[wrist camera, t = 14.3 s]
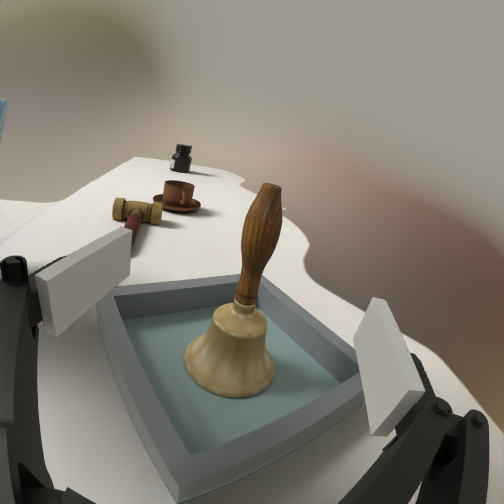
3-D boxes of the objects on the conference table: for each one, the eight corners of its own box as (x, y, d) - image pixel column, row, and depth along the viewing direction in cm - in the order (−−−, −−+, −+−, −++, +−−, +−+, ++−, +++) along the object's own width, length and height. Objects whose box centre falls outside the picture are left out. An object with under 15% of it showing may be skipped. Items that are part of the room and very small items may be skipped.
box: (97, 320, 26) (95, 288, 25) (251, 298, 38) (258, 271, 37) (177, 503, 12) (178, 486, 11) (365, 400, 24) (384, 372, 23)
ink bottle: (174, 168, 128) (178, 143, 123) (191, 171, 128) (196, 146, 123) (166, 170, 119) (171, 143, 114) (185, 173, 119) (190, 146, 114)
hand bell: (175, 387, 21) (204, 181, 15) (192, 327, 28) (221, 166, 22) (276, 405, 21) (353, 217, 15) (272, 343, 29) (321, 190, 23)
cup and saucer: (208, 214, 70) (213, 190, 68) (167, 217, 62) (171, 190, 59) (182, 200, 77) (186, 178, 75) (143, 202, 68) (147, 178, 66)
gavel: (154, 246, 39) (89, 238, 36) (152, 273, 41) (89, 266, 38) (163, 199, 57) (117, 194, 54) (161, 220, 59) (116, 215, 56)
